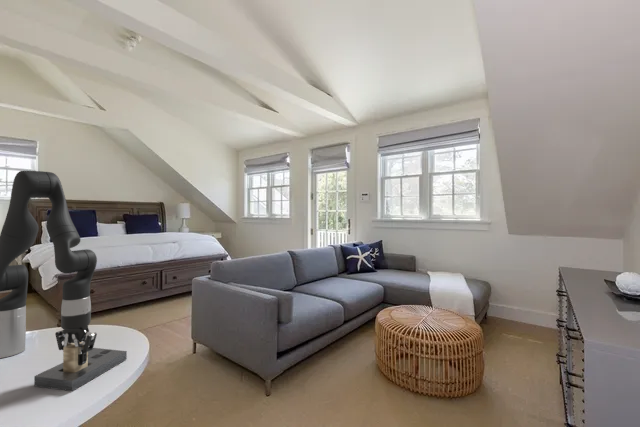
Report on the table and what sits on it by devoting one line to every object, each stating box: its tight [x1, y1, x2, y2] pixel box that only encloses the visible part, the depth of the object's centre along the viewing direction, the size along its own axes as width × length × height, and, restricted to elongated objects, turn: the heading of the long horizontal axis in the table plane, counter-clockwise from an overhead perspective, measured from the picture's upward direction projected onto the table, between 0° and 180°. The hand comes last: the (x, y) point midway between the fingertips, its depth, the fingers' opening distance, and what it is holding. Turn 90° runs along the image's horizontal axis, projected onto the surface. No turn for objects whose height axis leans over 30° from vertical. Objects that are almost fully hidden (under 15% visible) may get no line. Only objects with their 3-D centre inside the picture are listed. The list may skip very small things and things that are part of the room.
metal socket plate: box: [33, 347, 128, 392], centre depth 101 cm, size 14×20×3 cm
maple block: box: [62, 341, 88, 373], centre depth 98 cm, size 4×4×9 cm
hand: (75, 363), depth 98 cm, fingers closed on maple block, 4 cm apart
